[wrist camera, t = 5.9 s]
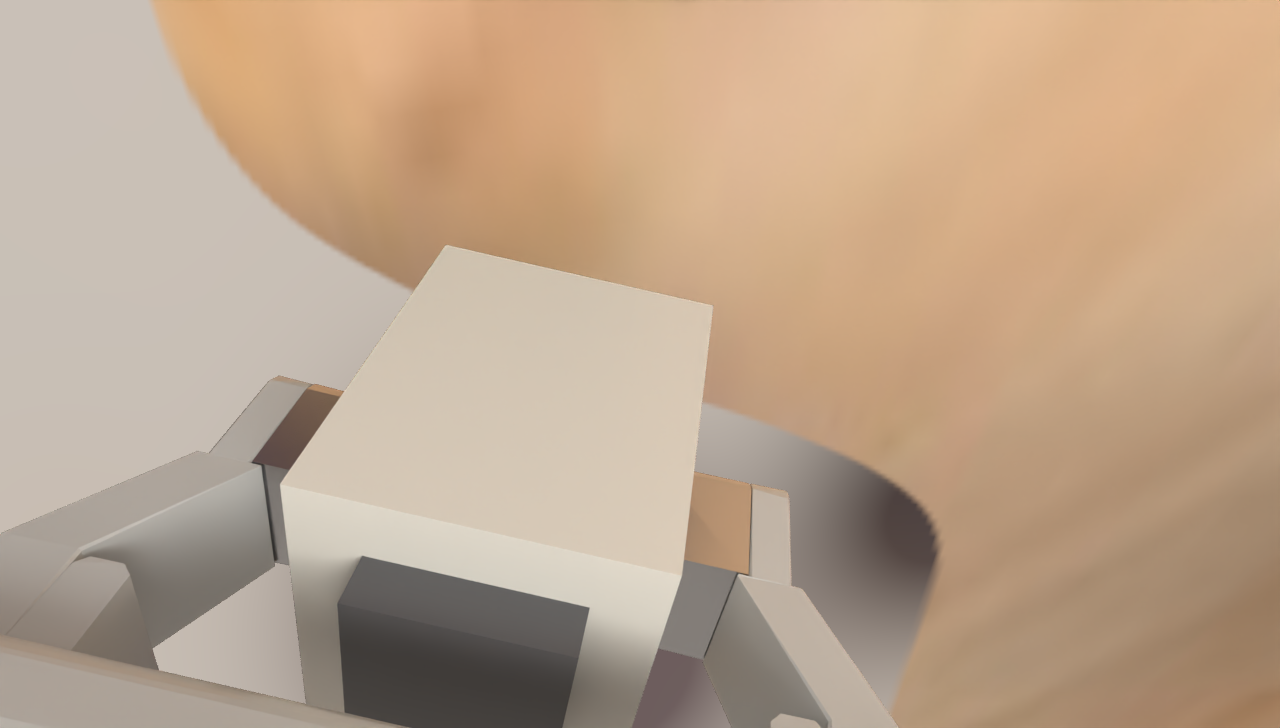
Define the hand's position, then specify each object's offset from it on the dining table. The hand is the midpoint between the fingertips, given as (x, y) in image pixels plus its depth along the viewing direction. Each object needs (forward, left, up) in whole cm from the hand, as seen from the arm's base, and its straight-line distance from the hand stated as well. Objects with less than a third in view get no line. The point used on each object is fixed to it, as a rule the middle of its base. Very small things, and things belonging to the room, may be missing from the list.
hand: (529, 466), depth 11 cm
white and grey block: (0, 0, -2) cm, 2 cm away
